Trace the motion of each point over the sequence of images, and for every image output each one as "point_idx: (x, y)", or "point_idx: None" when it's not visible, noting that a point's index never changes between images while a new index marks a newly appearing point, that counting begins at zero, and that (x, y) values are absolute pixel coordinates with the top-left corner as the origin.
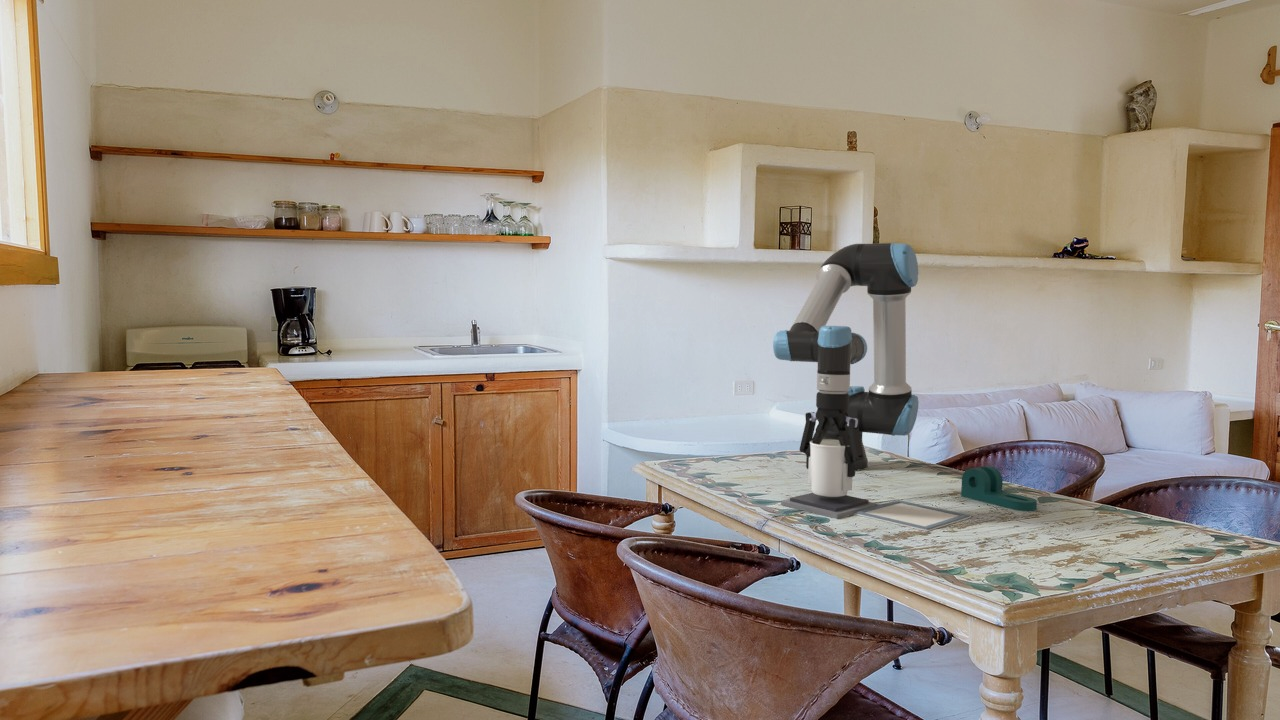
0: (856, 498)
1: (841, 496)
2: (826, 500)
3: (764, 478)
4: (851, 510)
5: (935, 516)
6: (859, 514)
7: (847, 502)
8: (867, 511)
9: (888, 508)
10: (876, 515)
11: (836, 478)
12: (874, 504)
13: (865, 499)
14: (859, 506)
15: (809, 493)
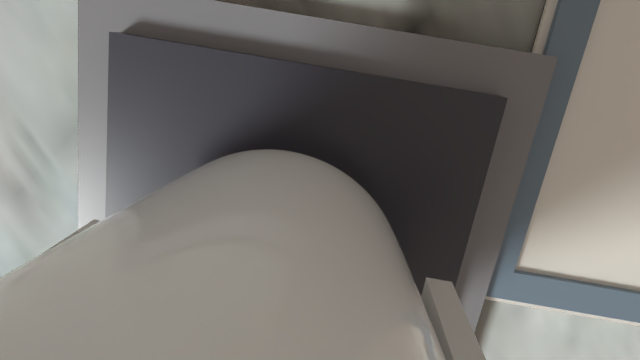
0: (414, 109)
1: (305, 126)
2: None
3: None
4: (474, 329)
5: None
6: (511, 301)
7: (412, 256)
8: (529, 213)
9: (626, 41)
10: (616, 293)
11: None
12: (545, 96)
13: (480, 94)
14: (478, 214)
15: (106, 192)
